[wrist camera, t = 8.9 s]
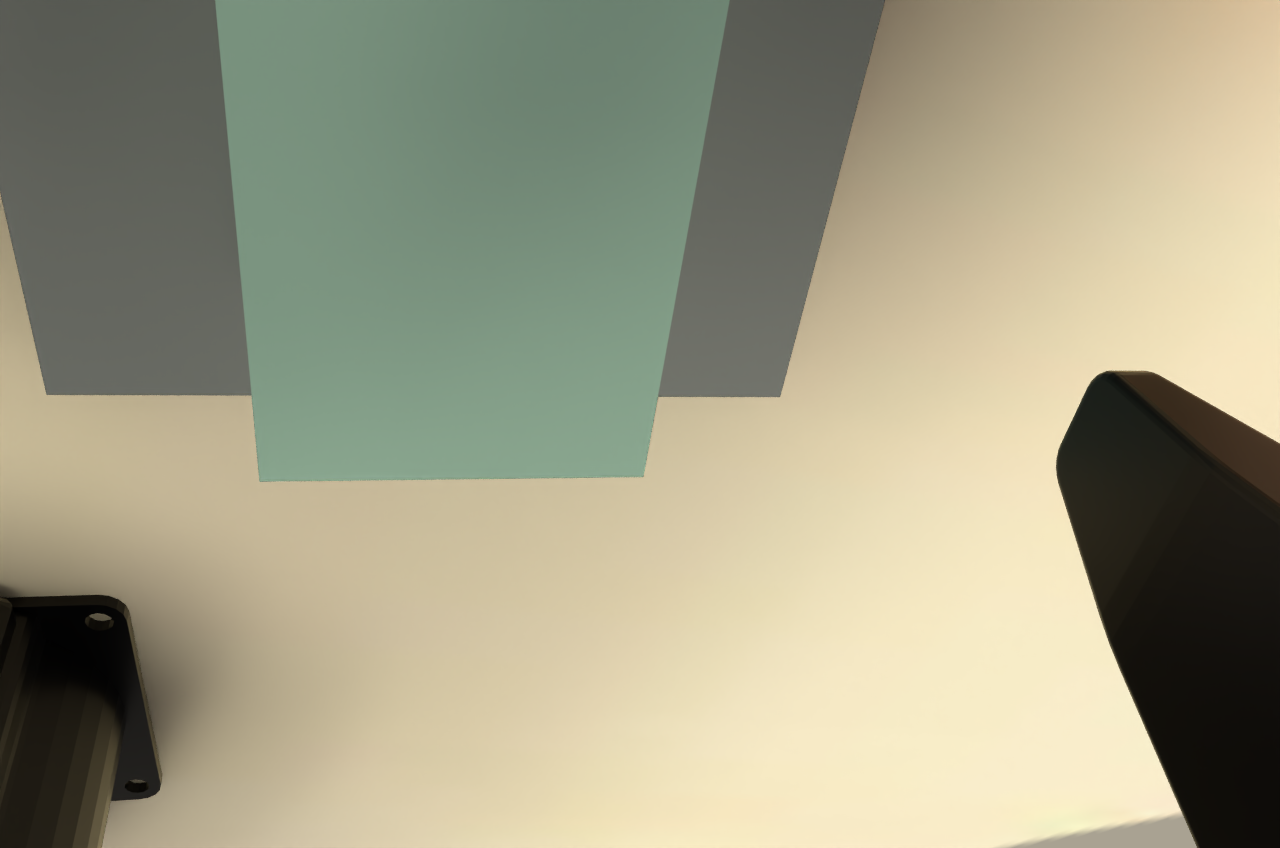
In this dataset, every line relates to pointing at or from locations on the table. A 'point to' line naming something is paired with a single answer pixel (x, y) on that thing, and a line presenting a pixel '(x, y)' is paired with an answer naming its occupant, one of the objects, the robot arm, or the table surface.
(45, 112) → the baseplate
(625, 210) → the teal brick
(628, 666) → the table surface
